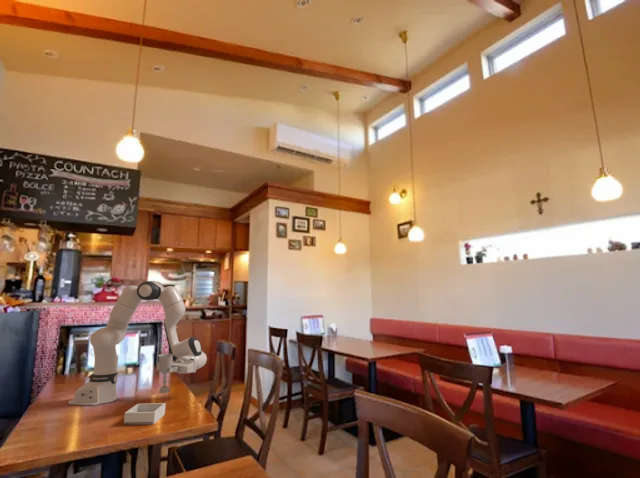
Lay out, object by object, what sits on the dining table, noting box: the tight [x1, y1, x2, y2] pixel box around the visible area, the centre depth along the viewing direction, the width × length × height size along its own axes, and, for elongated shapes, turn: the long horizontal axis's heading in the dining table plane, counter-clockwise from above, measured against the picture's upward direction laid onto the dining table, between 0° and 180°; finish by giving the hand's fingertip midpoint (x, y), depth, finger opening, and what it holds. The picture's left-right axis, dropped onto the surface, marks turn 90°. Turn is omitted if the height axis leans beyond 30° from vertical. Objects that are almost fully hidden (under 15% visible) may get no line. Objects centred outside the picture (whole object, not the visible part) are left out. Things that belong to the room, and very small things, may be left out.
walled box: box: [123, 402, 167, 426], centre depth 160 cm, size 13×13×5 cm
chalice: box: [158, 353, 174, 394], centre depth 176 cm, size 7×7×18 cm
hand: (163, 369), depth 175 cm, fingers closed on chalice, 5 cm apart
